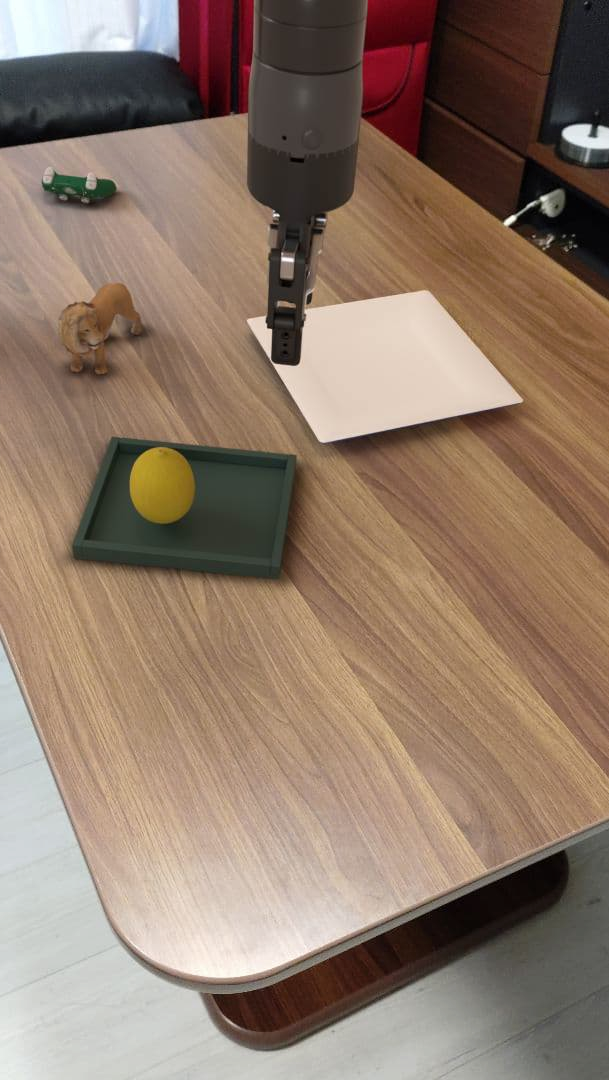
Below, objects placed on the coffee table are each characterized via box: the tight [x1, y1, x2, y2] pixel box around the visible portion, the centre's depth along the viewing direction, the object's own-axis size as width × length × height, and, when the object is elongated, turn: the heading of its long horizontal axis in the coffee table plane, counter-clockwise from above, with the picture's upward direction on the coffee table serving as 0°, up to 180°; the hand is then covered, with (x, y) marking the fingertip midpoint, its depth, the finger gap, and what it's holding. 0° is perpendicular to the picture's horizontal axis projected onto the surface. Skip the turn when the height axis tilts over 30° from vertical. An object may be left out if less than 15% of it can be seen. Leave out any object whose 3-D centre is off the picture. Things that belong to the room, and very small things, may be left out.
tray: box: [71, 436, 298, 580], centre depth 87 cm, size 18×15×2 cm
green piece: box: [41, 166, 117, 204], centre depth 127 cm, size 9×4×6 cm
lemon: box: [130, 447, 195, 524], centre depth 83 cm, size 6×6×8 cm
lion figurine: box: [57, 282, 143, 375], centre depth 101 cm, size 15×5×9 cm, turn 168°
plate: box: [246, 289, 524, 445], centre depth 104 cm, size 22×22×2 cm
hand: (292, 331), depth 77 cm, fingers open, 8 cm apart
